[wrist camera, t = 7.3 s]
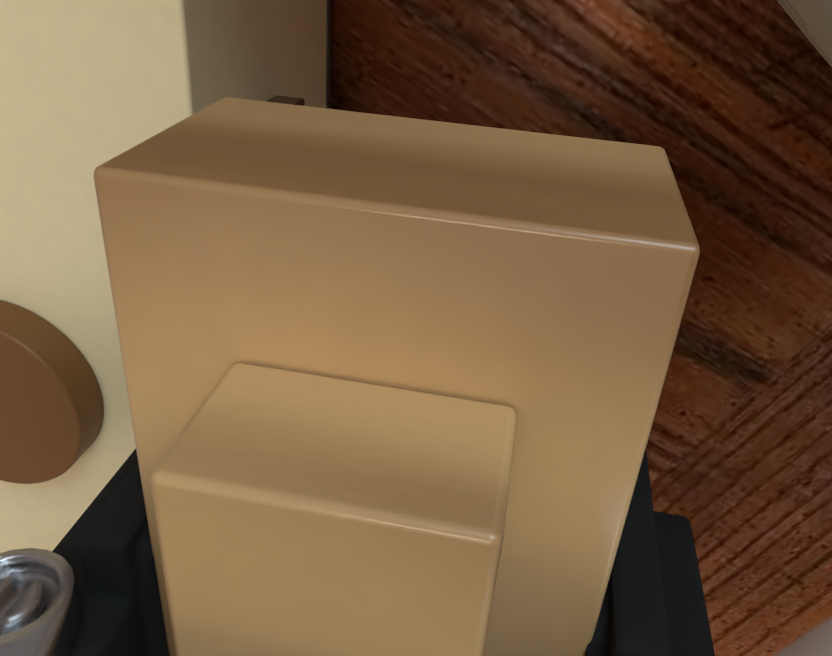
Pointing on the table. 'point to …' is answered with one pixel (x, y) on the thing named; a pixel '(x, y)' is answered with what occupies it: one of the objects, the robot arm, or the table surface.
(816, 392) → the table surface
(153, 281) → the brush
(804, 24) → the cosmetic box
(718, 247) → the table surface
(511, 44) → the table surface
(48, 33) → the bread box
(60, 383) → the brown disc
